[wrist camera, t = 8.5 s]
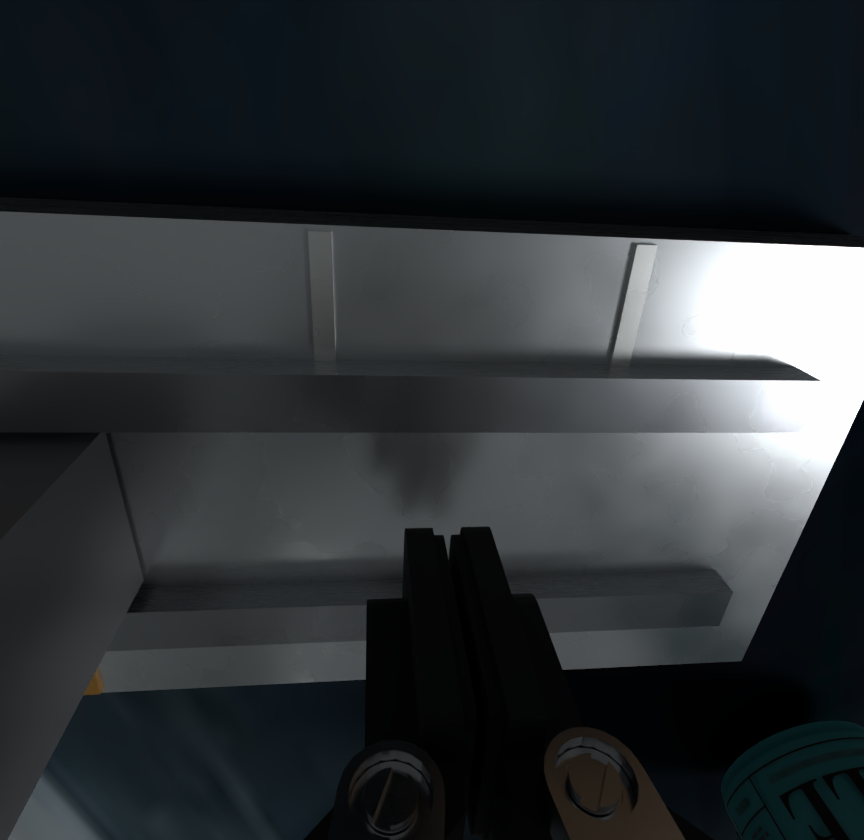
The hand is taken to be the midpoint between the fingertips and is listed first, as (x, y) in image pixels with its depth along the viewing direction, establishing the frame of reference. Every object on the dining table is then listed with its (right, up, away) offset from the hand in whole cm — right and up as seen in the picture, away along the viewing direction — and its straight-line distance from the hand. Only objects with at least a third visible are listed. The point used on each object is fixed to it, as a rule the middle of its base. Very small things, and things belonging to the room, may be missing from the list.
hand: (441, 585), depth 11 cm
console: (-4, +2, +3) cm, 5 cm away
